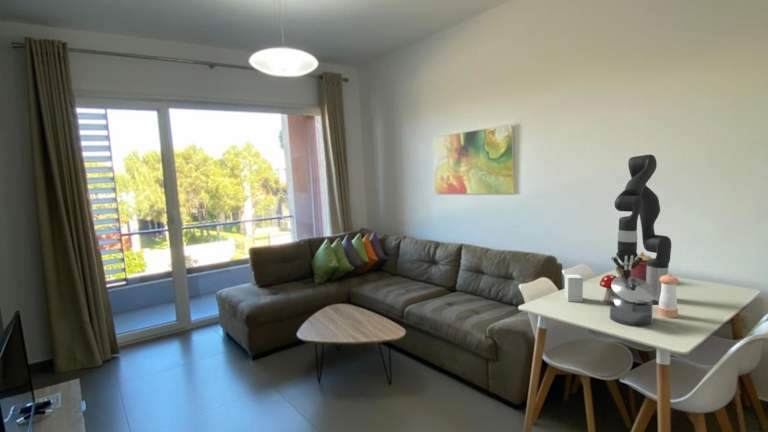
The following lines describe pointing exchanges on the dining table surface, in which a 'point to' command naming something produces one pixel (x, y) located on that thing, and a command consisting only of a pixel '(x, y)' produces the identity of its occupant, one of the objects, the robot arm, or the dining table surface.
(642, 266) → the canister
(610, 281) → the decorative mushroom
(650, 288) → the cooker lid
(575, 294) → the supplement box
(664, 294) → the pepper shaker
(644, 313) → the cooker pot
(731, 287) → the dining table surface
